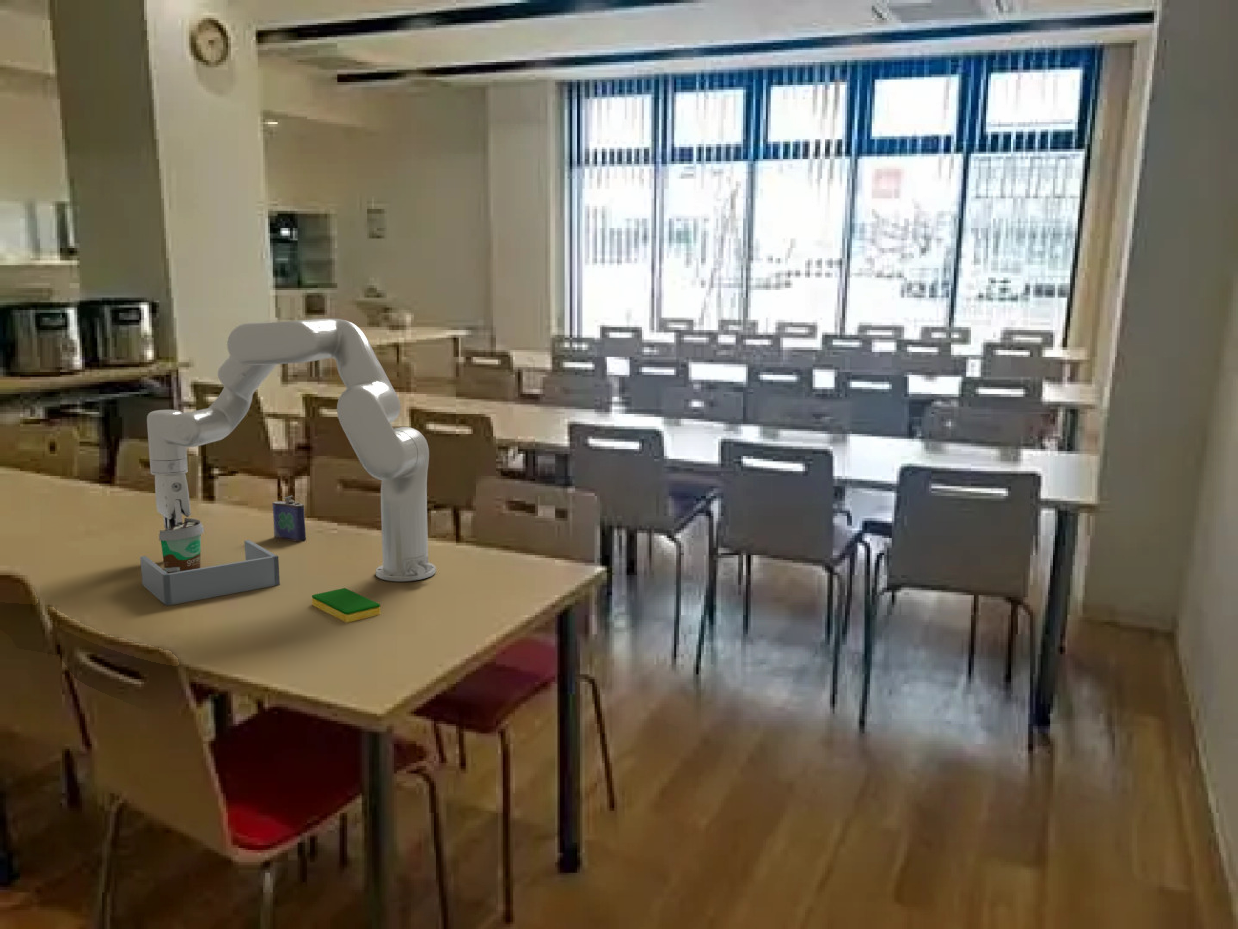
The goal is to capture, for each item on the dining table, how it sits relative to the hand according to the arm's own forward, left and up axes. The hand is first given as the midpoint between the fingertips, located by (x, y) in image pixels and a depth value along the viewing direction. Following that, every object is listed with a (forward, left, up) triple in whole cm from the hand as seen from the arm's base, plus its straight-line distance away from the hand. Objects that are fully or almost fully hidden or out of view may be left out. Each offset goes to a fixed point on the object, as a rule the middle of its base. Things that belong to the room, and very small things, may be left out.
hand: (174, 546), depth 216 cm
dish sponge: (-56, -15, -4) cm, 58 cm away
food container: (-10, 0, -3) cm, 11 cm away
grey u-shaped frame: (-24, 0, -3) cm, 24 cm away
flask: (+2, -27, -3) cm, 27 cm away
